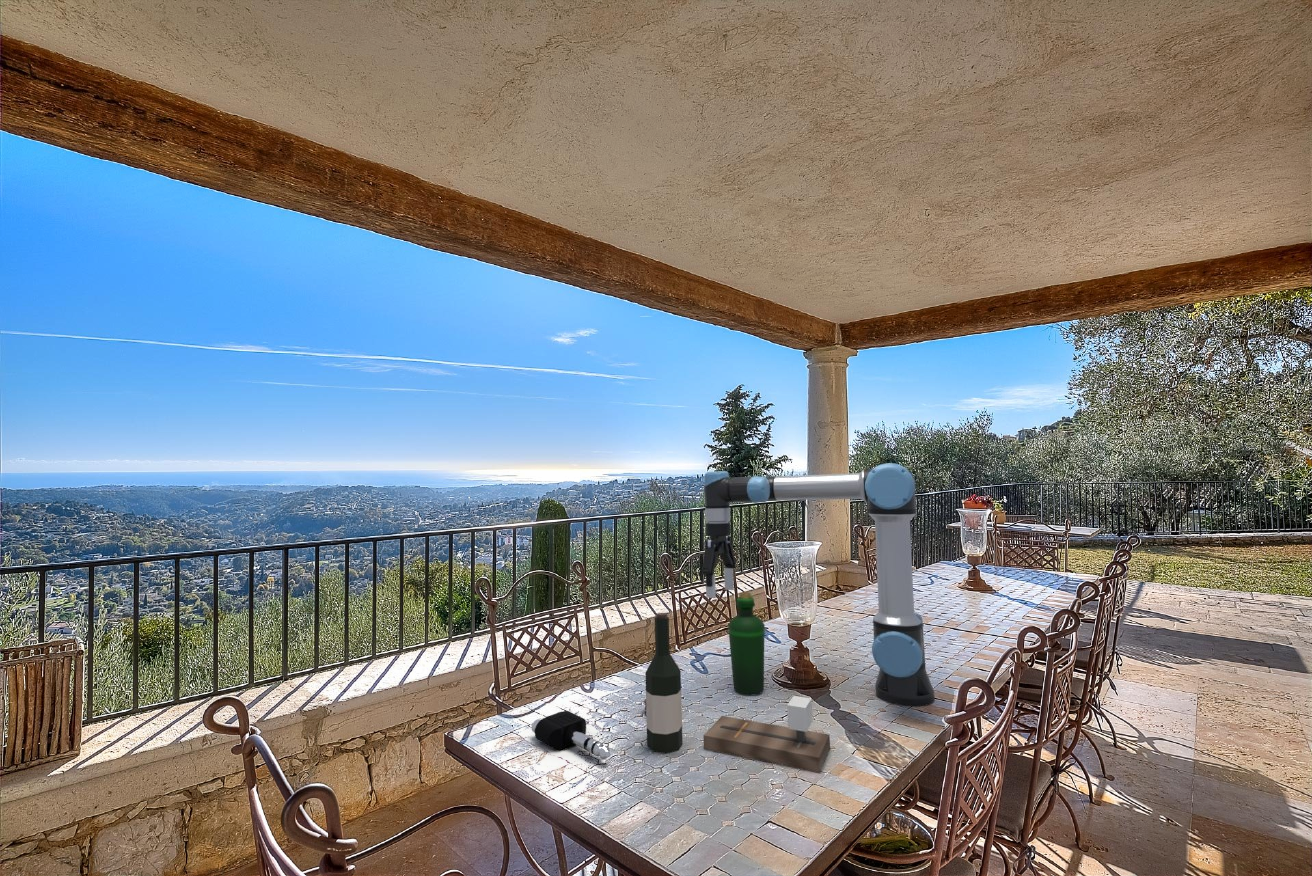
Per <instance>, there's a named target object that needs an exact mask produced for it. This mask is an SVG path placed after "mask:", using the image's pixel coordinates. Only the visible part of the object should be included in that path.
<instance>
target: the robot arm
mask: <svg viewBox="0 0 1312 876" xmlns="http://www.w3.org/2000/svg"><path fill="white" fill-rule="evenodd" d="M860 471H861V472H857V473H856V472H853V473H851V472H850V473H827V474H825V473H824V474H802V475H778V476H759V475H758V476H757V475H755V476H742V477H740V476H739V477H730V476H729V472H728V471H724V470H723V471H720V470H719V471H706V473H705V474H704V477H703V478H704V479H703V480H704V481H703V482H704V484H703V490H704V509H705V511H704V512H703V513H704V514H705V521H706V524H705V535H706V536H708V537H710V539H706V540H705V546H704V547H705V549H704V552H703V553H704V555H703V560H702V566H701V574H702V576H705V597H706V599H716V598H717V596H716V595H717V592H716V587H717V586H716V575H715V574H714V573H715V569H716V566H717V563H718V560H719V557H721V559H722V562H723V565H724V566H725V567H724V568H723V575H724V577H723V578H724V590H729V591H734V590H735V587H734V586H735V585H734V582H735V580H734V569H736V568H737V562H736V557H735V553H734V549H733V545H732V536H731V533H732V531H731V529H732V528H731V526H732V525H731V522H730V521H731V505H730V503H755V504H757V503H762V502H763V503H764V502H767V501H768V502H771V501H806V500H807V501H810V500H811V501H812V500H814V501H815V500H818V501H819V500H862V501H864V502H865V503H867V508H868V509H867V510H868V516H870V517H871V518H872V520H874V530H875V533H874V534H875V535H874V537H875V553H876V554H875V556H876V578H877V579H876V580H877V599H878V600H877V603H878V612H876V614H875V615H874V616H873V617H872V627H873V628H872V629H873V643H872V646H871V652H872V653H871V654H872V657H873V660H874V662H875V664H876V665H877V666H878V668H879V671H878V673H877V674H878V675H877V677H876V682H875V685H874V686H875V689H874V690H875V696H877V697H878V698H879V699H881V700H883V702H884V701H885V702H887V703H890V704H894V705H897V706H905V707H923V706H928V705H931V704H933V703H934V702H935V691H934V688H933V685H932V683H931V680H930V678H929V675H928V671H927V668H926V655H925V654H926V651H925V638H924V637H925V635H924V622H923V617H922V615H921V614H919V613H915V603H914V602H915V601H914V581H913V559H912V556H913V555H912V541H911V539H912V538H911V537H912V536H911V520H912V519H913V518H914V517H915V516H916V515H917V513H916V511H917V509H916V495H915V494H916V485H917V484H916V479H915V476H914V475H913V473H912V472H911V471H910V470H909V469H907V468H906V467H905V466H902V465H901V464H898V463H895V462H893V463H891V462H888V463H882V464H879V465H877V466H875V467H874V468H869V469H864V468H863V469H862V470H860Z"/></svg>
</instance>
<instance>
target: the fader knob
mask: <svg viewBox="0 0 1312 876" xmlns="http://www.w3.org/2000/svg"><path fill="white" fill-rule="evenodd" d="M786 708H787V727H788V729H793V730H796V734H797V741H798V742H805V740H806V735H805V732H807V731H809V729H810V727H811V726H812V724H813V703H812V698H810V697H804V696H797V695H793V697H792V698H791V699H790V701H789V702H788V703H787V706H786Z"/></svg>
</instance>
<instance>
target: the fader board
mask: <svg viewBox="0 0 1312 876" xmlns="http://www.w3.org/2000/svg"><path fill="white" fill-rule="evenodd" d="M805 735H806V740H805V742H798V741H797V734H796V730H793V729H788V726H782V725H776V724H770V723H766V722H765V723H764V722H760V721H759V722H758V721H754V720H748V719H743V718H742V719H741V718H737V717H731V716H726V715H725V716H724V715H721V716H720V717H719V718H718V719H717V721H716V722H714V723H713V725H712V726H711V727H710V728H709V729H708V730H707V731H706V732H705V733H704V734H703V749H704V750H707V751H708V750H709V751H713V752H718V753H722V754H726V755H731V756H737V757H742V758H746V759H750V760H751V759H752V760H758V761H760V762H764V763H765V762H766V763H771V764H775V765H776V764H777V765H781V766H785V767H791V768H796V769H801V770H804V771H810V772H815V773H821V770H822V768H823V765H824V763H825V760H826V759H827V757H828V754H829V752H830V750H831V739H830V738H831V737H830V734H829V733H823V732H817V731H812V730H807V732H805Z"/></svg>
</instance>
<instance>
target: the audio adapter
mask: <svg viewBox="0 0 1312 876" xmlns="http://www.w3.org/2000/svg"><path fill="white" fill-rule="evenodd" d="M531 731H532V733H533V734H534V736H535V738H536V740H537V741H539V742H540V743H542V744H544V745H545V746H547V747H548V748H550V749H552V750H554V751H557V752H562V751H565V750H567V749H568V750H569V749H570V748H574V747H576V746H577V747H579V748H581V749H583V750H584V751H587V752H588V753H590V754H591V755H594V756H595V757H599V758H600V760H606V759H607V758H610V757H611V750H610V748H609V746H607V745H604V744H603V743H602V742H599V741H598V740H597V739H595V738H592V737H591V736H589V735H587V734H586V733H587V721H586V719H585V718H583V717H582V716H579V715H577V714H575V713H573V712H572V711H570V710H564V711H558V712H556V713H553V714H550V715H547V716H545V717H543V718H542V719H539V718H538V719H535V720H534V721H533V722H532V724H531Z"/></svg>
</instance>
